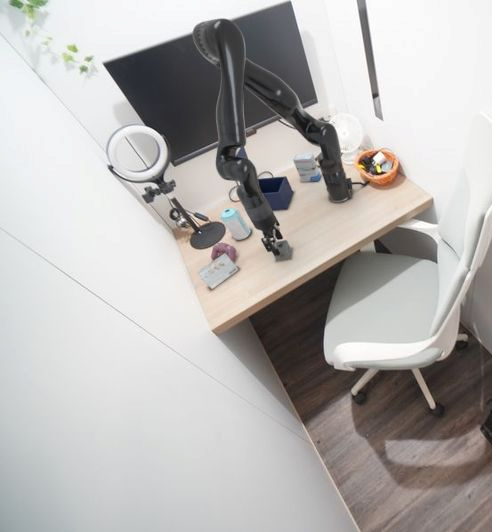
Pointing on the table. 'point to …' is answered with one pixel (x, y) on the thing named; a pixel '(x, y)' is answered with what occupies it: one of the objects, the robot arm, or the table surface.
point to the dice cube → (283, 250)
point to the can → (235, 223)
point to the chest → (276, 192)
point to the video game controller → (223, 251)
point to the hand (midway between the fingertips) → (279, 246)
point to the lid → (241, 153)
